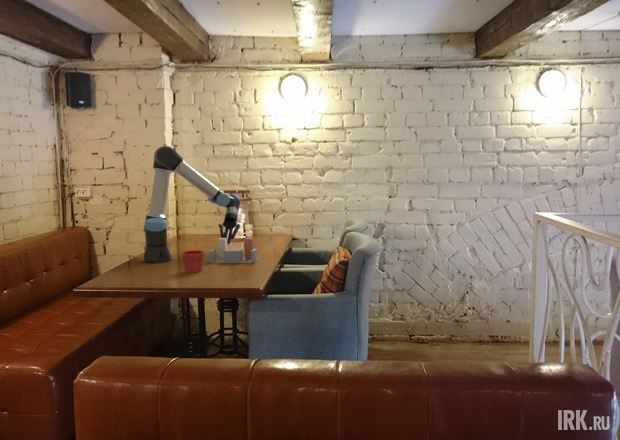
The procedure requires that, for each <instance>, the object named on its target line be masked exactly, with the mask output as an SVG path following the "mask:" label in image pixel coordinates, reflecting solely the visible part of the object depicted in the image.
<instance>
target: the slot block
mask: <svg viewBox="0 0 620 440" xmlns="http://www.w3.org/2000/svg"><path fill="white" fill-rule="evenodd" d="M243 253H244V251H243V248H227V249H226V250H224V259H219V257H217V248H211V249H210V250H209V251H208V255H209V257H208V259H209V261H208V262H209V264H255V263H257V262H258V261H259V260H260V257H258V249H257V248H254V249H253V250H251V259H245V257H244V255H243Z"/></svg>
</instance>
